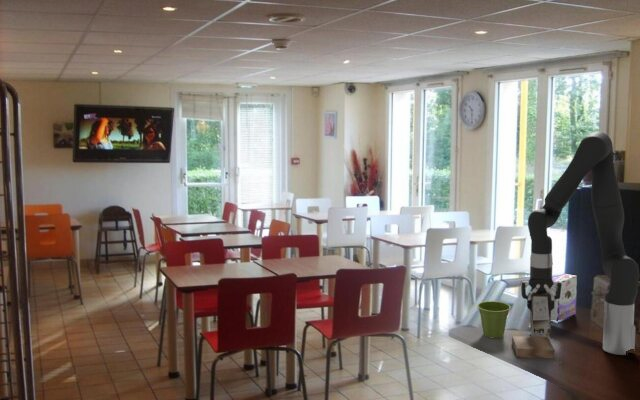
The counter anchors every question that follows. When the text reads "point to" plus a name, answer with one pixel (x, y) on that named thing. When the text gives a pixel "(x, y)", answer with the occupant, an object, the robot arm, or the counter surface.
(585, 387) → the counter surface
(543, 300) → the coffee box
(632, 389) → the counter surface
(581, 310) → the counter surface
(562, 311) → the candy box
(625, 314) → the robot arm
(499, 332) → the plant pot
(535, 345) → the light brown flat block
